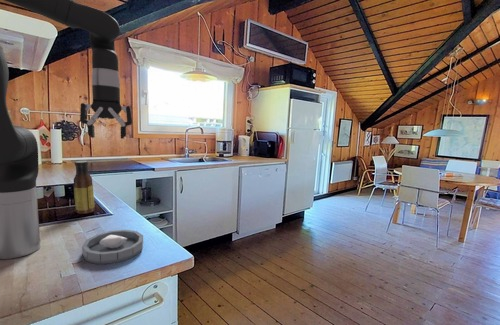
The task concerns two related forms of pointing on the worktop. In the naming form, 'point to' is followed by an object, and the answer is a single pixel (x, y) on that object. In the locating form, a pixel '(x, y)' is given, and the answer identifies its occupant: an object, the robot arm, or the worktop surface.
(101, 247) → the round dish
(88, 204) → the sauce bottle
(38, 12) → the robot arm
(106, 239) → the dumpling
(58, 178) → the worktop surface
